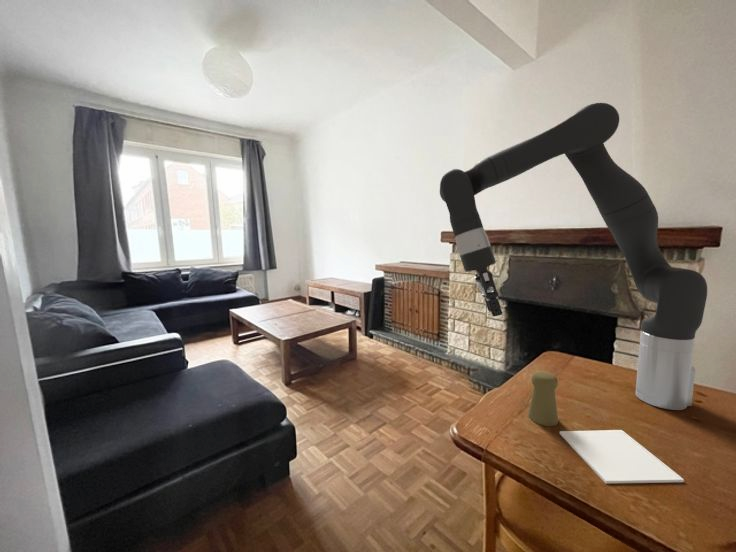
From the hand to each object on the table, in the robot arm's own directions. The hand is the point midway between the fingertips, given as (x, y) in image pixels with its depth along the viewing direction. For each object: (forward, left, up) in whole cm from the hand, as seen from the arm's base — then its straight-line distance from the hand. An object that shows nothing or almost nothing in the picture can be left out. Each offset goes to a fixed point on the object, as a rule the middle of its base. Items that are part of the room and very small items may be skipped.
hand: (495, 313), depth 73 cm
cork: (-9, +6, -24) cm, 26 cm away
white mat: (-16, +18, -24) cm, 34 cm away
